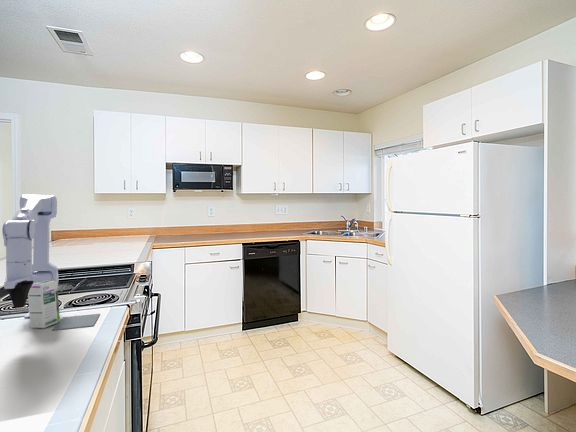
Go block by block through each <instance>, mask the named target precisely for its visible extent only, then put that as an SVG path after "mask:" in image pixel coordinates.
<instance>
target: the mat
mask: <svg viewBox="0 0 576 432" xmlns="http://www.w3.org/2000/svg"><path fill="white" fill-rule="evenodd" d="M100 315H101V313H93V314H82V315H81V314H80V315H74V316H73V315H70V316H63V317H61V319H60V322H58V323H56V325H55V326H54V327H53V328H52V329H51V331H54V332H55V331H60V330H61V331H62V330H70V329H71V330H72V329H78V328H91V327H94V326H95V325H96V323H97V321H98V319H99V317H100Z"/></svg>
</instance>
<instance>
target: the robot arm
mask: <svg viewBox="0 0 576 432" xmlns="http://www.w3.org/2000/svg"><path fill="white" fill-rule="evenodd" d="M57 199H58V198H57V197H56V195H54V194H51V195H49V194H47V195H45V194H26V193H25V194H24V193H23V194H22V195H20V197H19V208H20V209H18V210H17V211H16V213H15V214H14V216H13V217H12V219H11V220H7V222H6V221H5V222H3V224H2V227H1V228H2V229H1V230H2V231H1V232H2V233H1V235H2V239H3V245H4V247H5V250H6V251H5V259H6V260H5V263H6V264H5V265H6V266H5V269H6V270H5V271H6V275H5V276H6V277H5V281H4V282H3V283H4V284H3V287H4V290H5V291H6V292H7V293H8V295H9V297H10V300H11V301H12V306H13V308H14V309H20V308H21V309H22V308H25V306H26V303H27V299H28V293H29V290H30V288H31V286H32V284H33V283H37V282H42V281H46V280H55V281H57V286H58V285H59V281H60V278H59V277H60V276H59V268H58V267H57V266H56V265H54V263H51V262H50V225H51V224H50V223H51V220H52V219H54V218H56V217H57V214H58V200H57ZM24 318H25V319H26V318H30V313H29V312H27V313H26V314H25V315H24Z"/></svg>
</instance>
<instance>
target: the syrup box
mask: <svg viewBox="0 0 576 432" xmlns="http://www.w3.org/2000/svg"><path fill="white" fill-rule="evenodd" d="M27 299H28V313H30V317H29V322H30V323H29V324H30V325H29V326H30V328H32V329H33V328H35V329H45V328H48V327H51V326H52V325H55V324H57V323H58V322H60V320H61V319H60V304H59V303H60V302H59V289H58V285H57V281H55V280H46V281H42V282H37V283H33V284H32V286H31V288H30V290H29V293H28V296H27Z"/></svg>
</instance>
